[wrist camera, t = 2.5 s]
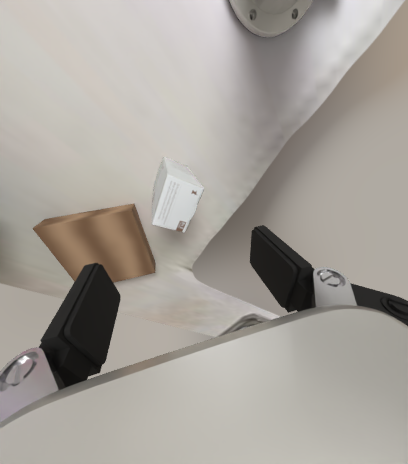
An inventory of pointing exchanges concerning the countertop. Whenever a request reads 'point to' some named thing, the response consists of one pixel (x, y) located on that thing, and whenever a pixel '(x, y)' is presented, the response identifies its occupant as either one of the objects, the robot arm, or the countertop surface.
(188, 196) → the skincare box
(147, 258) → the walnut board
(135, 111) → the countertop surface
